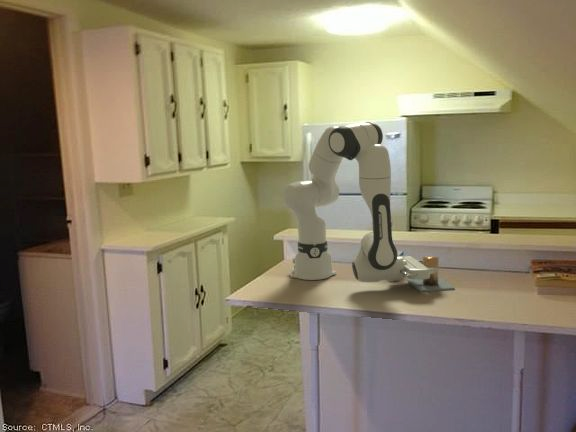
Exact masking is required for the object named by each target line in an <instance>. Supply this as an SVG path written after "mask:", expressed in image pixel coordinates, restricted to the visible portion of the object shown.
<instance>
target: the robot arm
mask: <svg viewBox="0 0 576 432" xmlns="http://www.w3.org/2000/svg"><path fill="white" fill-rule="evenodd" d="M383 138H384V134H383V130H382V128H381V127H380V126H379V125H378V124H377V123H375V122H369V121H365V122H353V123H351V124H350V123H349V124H346V125H340V126H329V127H327V128H326V129H325V130H324V132H323V133H322V135H320V138H319V139H318V142H317V144H316V146H315V148H314V150H313V153H312V154H311V157H310V160H309V163H308V170H309V172H310V173H311V175H312V178H311V179H308V180H300V181H294V182H291V183H290V184H287V185H285V186H284V187H283V189H282V193H281V199H282V202H283V205H284V206H285V207H286V208H287V209H289V210H290V211H291V212H292V213H293V215H294V218H295V219H296V220H295V221H296V224H297V231H298V242H297V254H296V255H295V256H294V257H293V258H292V264H293V266H292V269H291V272H290V278H295V279H300V280H305V281H316V280H324V279H328V278H330V277H332V276H335V275H337V271H335V270H334V269H333V264H332V263H333V261H332V254H331V253H330V252H328V250H329V249H328V248H329V247H328V246H329V245H328V240H327V227H326V226H327V224H326V222H325V220H324V219H322V218H321V217H320V216H318V214H317V212H316V208H318V207H320V208H321V207H325V206H329V205H331V204H333V203H335V202H337V200H338V199H339V195H340V188H339V185H338V183H337V182H336V176H337V175H336V174H337V172H338V170H339V167H340V165H341V162H342V161H343V159H344V158H345V159H346V160H348V161H353V160H354V159H355V160H356V161H357V164H358V183H359V190H360V195H361V197H362V199H363V200H364V202H365V204H366V205H367V207H368V210H369V211H370V215H371V220H372V222H371V223H372V224H371V225H372V231H371V232H368V233H366V234H365V235H364V236H363V238H362V239H361V241H360V247H359V250H358V252H357V255H356V257H355V259H354V260H353V261H352V263H351V267H352V273H353V275H354V277H355V279H356V280H357V281H358V282H360V283H379V282H382V281H386V282H396V281H399V282H400V281H403V280H404V279H405V277H406V278H407V279H408V280H417V279H429V278H430V274H432V273H438V274H439V267H438V268H437V267H432V268H427V267H426V266H424V265H423V259H422V260H421V259H416V258H414V256H410V255H404V256H398V253H397V251H398V250H397V247H396V245H395V244H394V242H393V241H394V239H393V232H392V214H391V212H392V210H391V191H392V189H391V186H392V169H391V160H390V154H389V151H388V148H387V147H386V146H384V145H382V143H383V140H384V139H383Z"/></svg>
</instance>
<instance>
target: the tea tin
mask: <svg viewBox="0 0 576 432" xmlns="http://www.w3.org/2000/svg"><path fill="white" fill-rule="evenodd" d="M422 261H423V265H424V266H426V267H427V268H432V267H437V268H439V256H436V255H425V256H422ZM438 278H439V272H438V273H432V274H430V278H429V279H423V284H424V285H427V286H436V285H438Z"/></svg>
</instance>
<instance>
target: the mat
mask: <svg viewBox="0 0 576 432" xmlns="http://www.w3.org/2000/svg"><path fill="white" fill-rule="evenodd" d="M407 282H408V283H409V284H410V285H411V286H412V287H414V288H415V289H416V290H417V291H418V292H419V293H421V292H434V291H435V292H436V291H437V292H439V291H451V290H455V289H456V288H455V287H454V286H453V285H451V284H450V282H447V281H446V280H444V279H443V278H442V277H438V285H436V286H427V285H424V284H423V279H407Z"/></svg>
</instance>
